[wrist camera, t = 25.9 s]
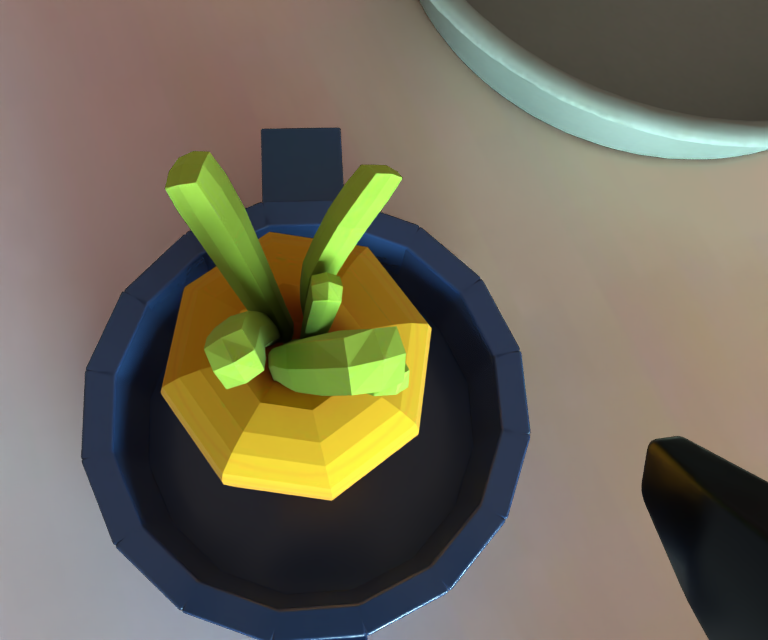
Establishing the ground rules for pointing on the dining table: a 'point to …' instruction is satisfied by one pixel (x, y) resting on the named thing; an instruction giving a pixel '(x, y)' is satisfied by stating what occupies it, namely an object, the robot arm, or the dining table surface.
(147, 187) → the dining table surface
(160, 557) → the pot
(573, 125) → the cake pan
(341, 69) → the dining table surface
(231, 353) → the carrot
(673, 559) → the robot arm
